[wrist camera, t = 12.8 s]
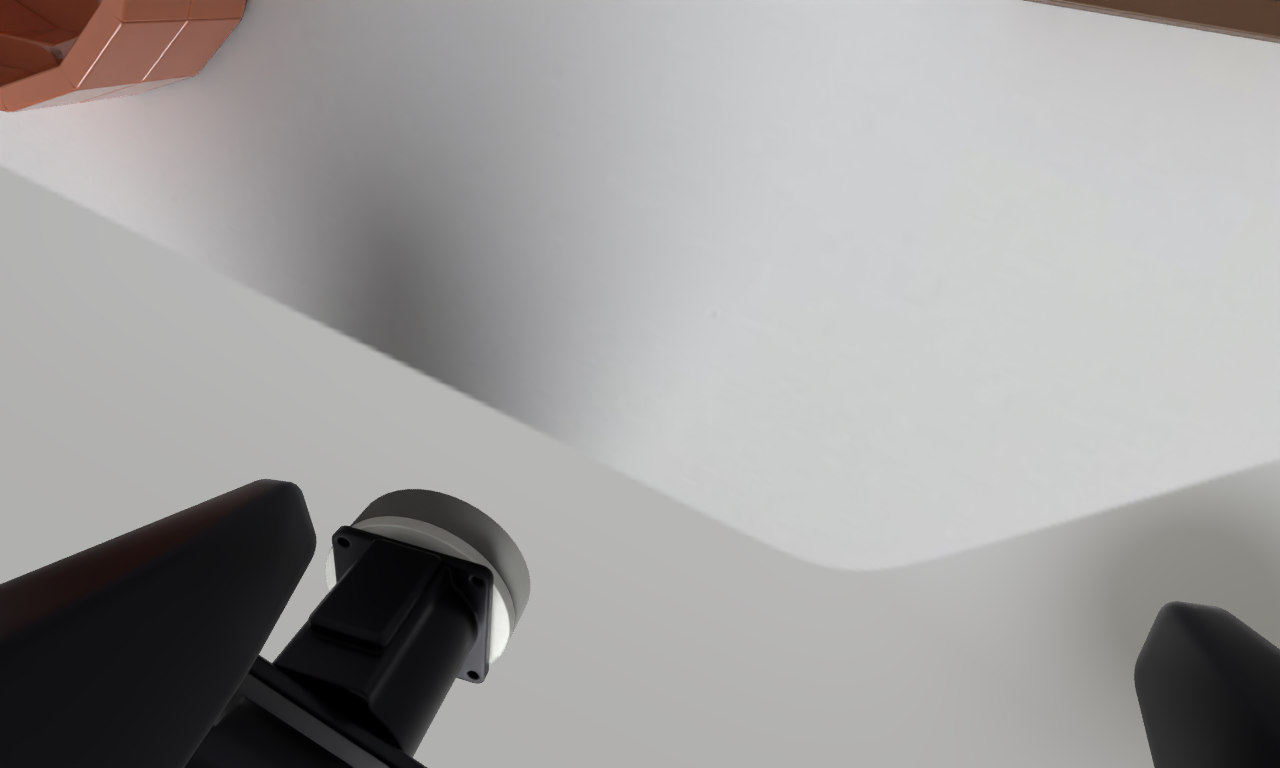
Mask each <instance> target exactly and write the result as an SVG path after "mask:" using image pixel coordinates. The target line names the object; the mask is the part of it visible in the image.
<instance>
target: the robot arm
mask: <svg viewBox="0 0 1280 768" xmlns="http://www.w3.org/2000/svg"><path fill="white" fill-rule="evenodd" d="M332 544H333V554H334V564H335V574H336V585H335V586H334V587H333V588H332V589H331V591H330V592H329V593H328V594H327V595H326V597H325V598H324V599H323V600H322V601H321V603H320V604H319V605H318V606H317V608H316V609H315V610H314V611H313V612H312V613H311V615H310V617H309V619H308V621H307V622H306V623H305V624H304V625H303V627H302V628H301V629H300V630H299V632H298V633H297V634H296V635H295V637H294V638H293V639H292V640H291V641H290V642H289V643H288V645H287V646H286V647H285V648H284V650H283V651H282V652H281V653H280V654H279V656H278V657H277V658H276V659H275V660H274V662H273V663H270V662H269V661H267V660H266V659H264V658H263V657H261V656H260V655H259V653H260V651H261V649H262V648H263V646H264V644H265V642H266V640H267V639H268V637H269V635H270V633H271V631H272V630H273V628H274V626H275V624H276V622H277V621H278V619H279V617H280V615H281V614H282V612H283V610H284V608H285V606H286V605H287V603H288V601H289V599H290V597H291V595H292V594H293V592H294V590H295V588H296V587H297V585H298V583H299V581H300V579H301V578H302V576H303V574H304V572H305V570H306V569H307V567H308V565H309V563H310V561H311V559H312V557H313V555H314V552H315V548H316V534H315V531H314V528H313V524H312V522H311V518H310V515H309V512H308V509H307V506H306V502H305V499H304V496H303V493H302V491H301V490H300V488H299V487H298V486H297V485H296V484H294V483H292V482H286V481H278V480H271V479H261V480H257V481H254V482H252V483H250V484H247V485H245V486H243V487H240V488H237V489H235V490H232V491H230V492H227V493H225V494H222V495H220V496H217V497H215V498H212V499H210V500H207V501H205V502H203V503H200V504H198V505H195V506H193V507H190V508H188V509H185V510H183V511H180V512H178V513H175V514H173V515H170V516H168V517H165V518H163V519H161V520H158V521H156V522H153V523H151V524H148V525H146V526H143V527H141V528H138V529H136V530H133V531H131V532H128V533H126V534H124V535H121V536H119V537H116V538H114V539H111V540H109V541H106V542H104V543H102V544H99V545H96V546H94V547H92V548H89V549H86V550H84V551H81V552H79V553H77V554H74V555H72V556H69V557H67V558H64V559H62V560H59V561H57V562H54V563H52V564H49V565H47V566H44V567H42V568H40V569H37V570H35V571H32V572H30V573H27V574H25V575H22V576H20V577H17V578H15V579H12V580H10V581H7V582H5V583H3V584H0V768H427V767H425V766H424V765H422V764H421V763H419V762H418V761H416V760H415V759H413V756H414V754H415V752H416V750H417V748H418V747H419V744H420V743H421V741H422V739H423V737H424V735H425V734H426V732H427V730H428V728H429V726H430V724H431V722H432V721H433V719H434V717H435V715H436V713H437V712H438V710H439V708H440V706H441V704H442V702H443V701H444V699H445V697H446V695H447V693H448V691H449V689H450V687H451V686H452V684H453V682H454V680H455V678H459V679H463V680H466V681H469V682H472V683H482V682H483V681H484V679H485V677H486V675H487V673H488V670H489V654H490V637H491V620H492V603H493V586H494V575H493V573H492V571H491V570H490V569H489V568H488V567H486V566H484V565H481V564H478V563H474V562H471V561H467V560H464V559H460V558H457V557H454V556H450V555H447V554H443V553H440V552H436V551H433V550H429V549H426V548H422V547H419V546H416V545H412V544H409V543H405V542H402V541H398V540H395V539H391V538H388V537H384V536H381V535H378V534H374V533H371V532H367V531H364V530H360V529H357V528H353V527H350V526H341V527H340V528H339V529H338V530H337V531H336V532H335V534H334V535H333V536H332ZM478 577H479V578H478ZM480 578H481V579H480ZM1134 680H1135V688H1136V693H1137V697H1138V701H1139V705H1140V709H1141V713H1142V718H1143V722H1144V726H1145V730H1146V734H1147V738H1148V742H1149V746H1150V751H1151V755H1152V759H1153V763H1154V767H1155V768H1280V649H1279V648H1277V647H1276V646H1274V645H1273V644H1272V643H1270V642H1269V641H1268V640H1266V639H1265V638H1264V637H1262V636H1261V635H1259V634H1258V633H1257V632H1255V631H1254V630H1253V629H1251V628H1250V627H1248V626H1247V625H1246V624H1244V623H1243V622H1242V621H1240V620H1239V619H1238V618H1236V617H1235V616H1234V615H1232V614H1231V613H1229V612H1228V611H1226V610H1224V609H1222V608H1218V607H1215V606H1207V605H1201V604H1193V603H1186V602H1179V601H1175V602H1169V603H1167V604H1165V605H1164V606H1163V607H1162V608H1161V610H1160V611H1159V613H1158V615H1157V617H1156V619H1155V622H1154V624H1153V626H1152V628H1151V630H1150V632H1149V634H1148V637H1147V639H1146V641H1145V643H1144V645H1143V648H1142V650H1141V652H1140V654H1139V656H1138V659H1137V662H1136V666H1135V674H1134Z"/></svg>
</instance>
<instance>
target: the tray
mask: <svg viewBox="0 0 1280 768" xmlns="http://www.w3.org/2000/svg"><path fill="white" fill-rule="evenodd" d="M1024 1H1030V2H1036V3H1042V4H1048V5H1054V6H1060V7H1066V8H1072V9H1078V10H1084V11H1090V12H1096V13H1102V14H1108V15H1113V16H1119V17H1125V18H1131V19H1137V20H1143V21H1149V22H1155V23H1161V24H1167V25H1173V26H1179V27H1185V28H1191V29H1197V30H1203V31H1209V32H1215V33H1221V34H1227V35H1232V36H1238V37H1244V38H1250V39H1256V40H1262V41H1268V42H1274V43H1280V0H1024Z"/></svg>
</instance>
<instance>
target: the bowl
mask: <svg viewBox="0 0 1280 768" xmlns="http://www.w3.org/2000/svg"><path fill="white" fill-rule="evenodd" d="M245 4H246V0H0V111H5V112H18V111H25V110H32V109H39V108H46V107H53V106H60V105H67V104H74V103H78V102H80V103H81V102H88V101H95V100H102V99H109V98H116V97H123V96H130V95H136V94H139V93H143V92H146V91H149V90H152V89H155V88H158V87H162V86H165V85H168V84H171V83H174V82H177V81H180V80H184V79H187V78H190V77H193V76H195V75H197V74H198V73H199V72H200V71H201V69H202V68H203V67H204V66H205V64H206V63H207V62H208V61H209V59H210V58H211V57H212V56H213V54H214V53H215V52H216V51H217V49H218V48H219V47H220V46H221V44H222V43H223V42H224V41H225V39H226V38H227V37H228V36H229V34H230V33H231V32H232V31H233V30H234V28H235V27H236V26H237V25H238V23H239V22H240V21H241V20H242V17H243V13H244V8H245Z"/></svg>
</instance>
